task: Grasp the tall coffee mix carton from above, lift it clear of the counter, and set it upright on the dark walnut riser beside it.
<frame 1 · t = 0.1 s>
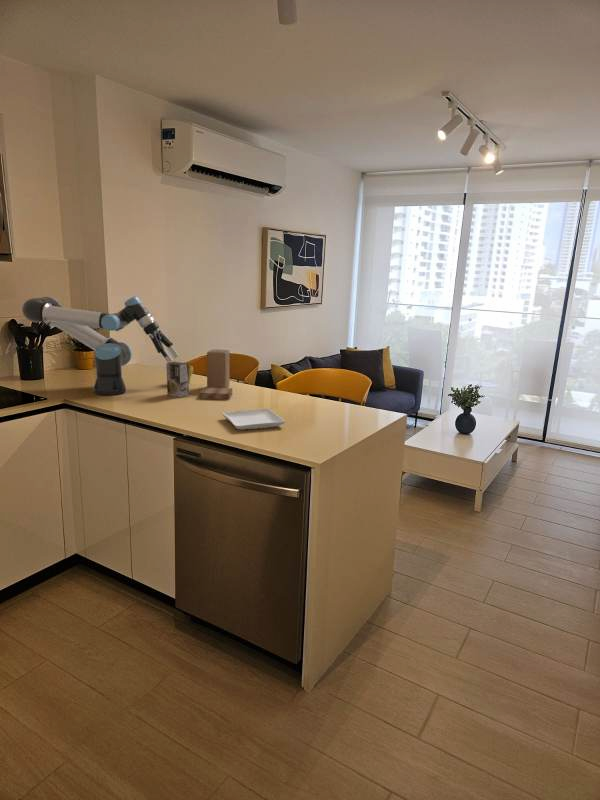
hand: (173, 359, 276), 15 cm above the worktop, tool tilted 35°, fingers open, 13 cm apart
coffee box: (178, 395, 266), on the worktop
salad plate: (252, 424, 222), on the worktop
walnut riser: (216, 396, 266), on the worktop
block: (218, 388, 284), on the worktop
plant pot: (183, 384, 291), on the worktop
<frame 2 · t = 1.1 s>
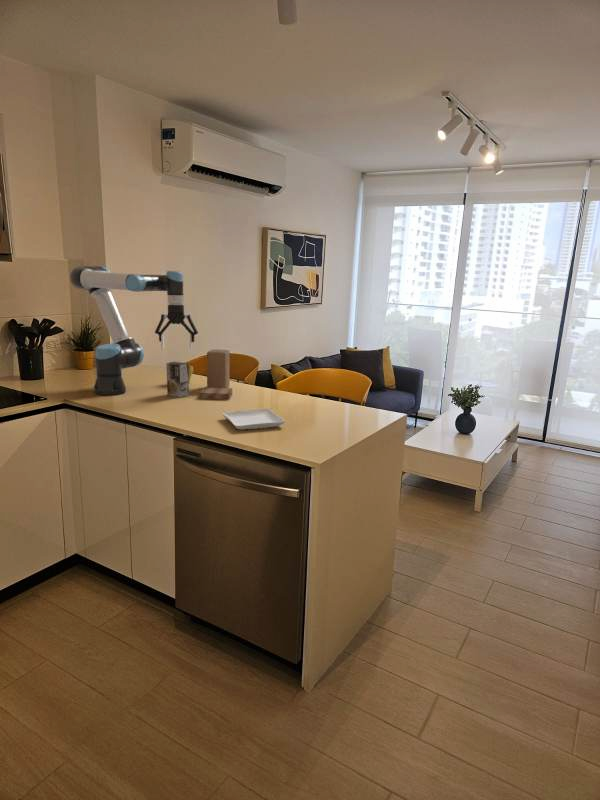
hand: (177, 348, 261), 23 cm above the worktop, tool pointing down, fingers open, 13 cm apart
nothing on the worktop moved.
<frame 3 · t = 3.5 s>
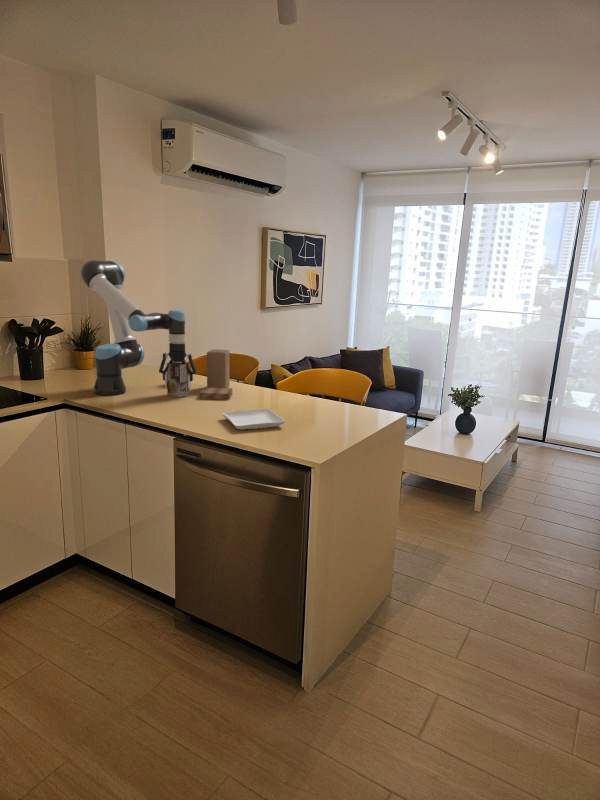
hand: (178, 387, 265), 4 cm above the worktop, tool pointing down, fingers closed on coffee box, 11 cm apart
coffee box: (178, 395, 266), on the worktop, touching gripper
everything else where it was.
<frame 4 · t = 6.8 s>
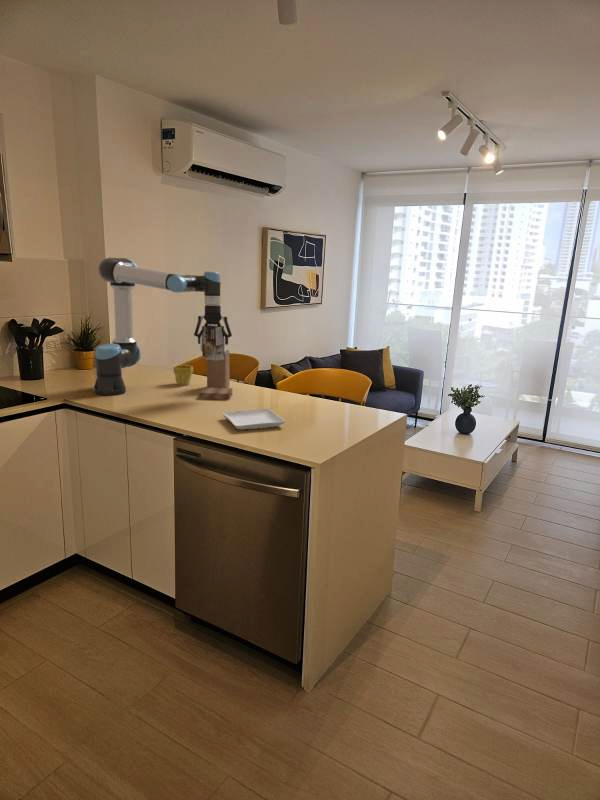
hand: (213, 351, 260), 23 cm above the worktop, tool pointing down, fingers closed on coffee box, 10 cm apart
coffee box: (213, 359, 261), point 18 cm above the worktop, touching gripper
everything else where it was.
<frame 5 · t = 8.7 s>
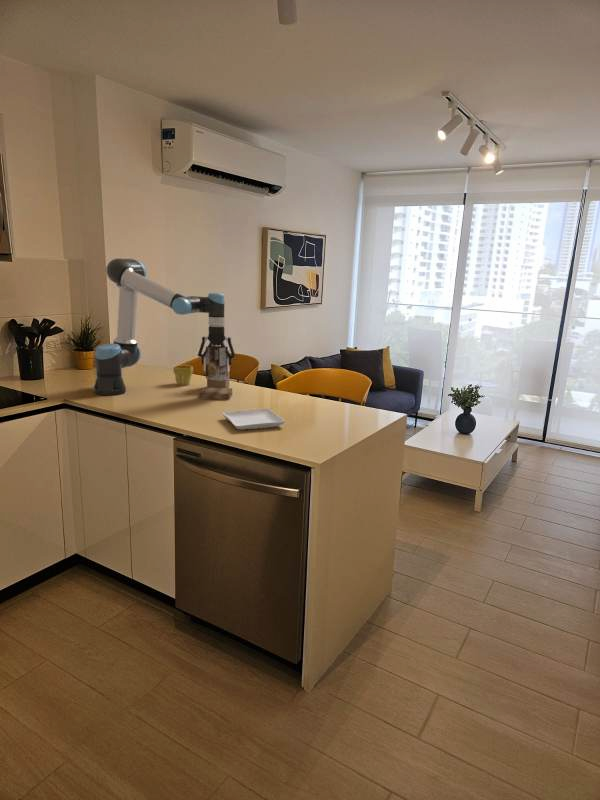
hand: (216, 371, 263), 13 cm above the worktop, tool pointing down, fingers closed on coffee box, 10 cm apart
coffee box: (216, 379, 264), point 9 cm above the worktop, touching gripper
everything else where it was.
when the fingers open (8 cm above the worktop, at t = 10.2 s): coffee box drops 1 cm, resting on walnut riser.
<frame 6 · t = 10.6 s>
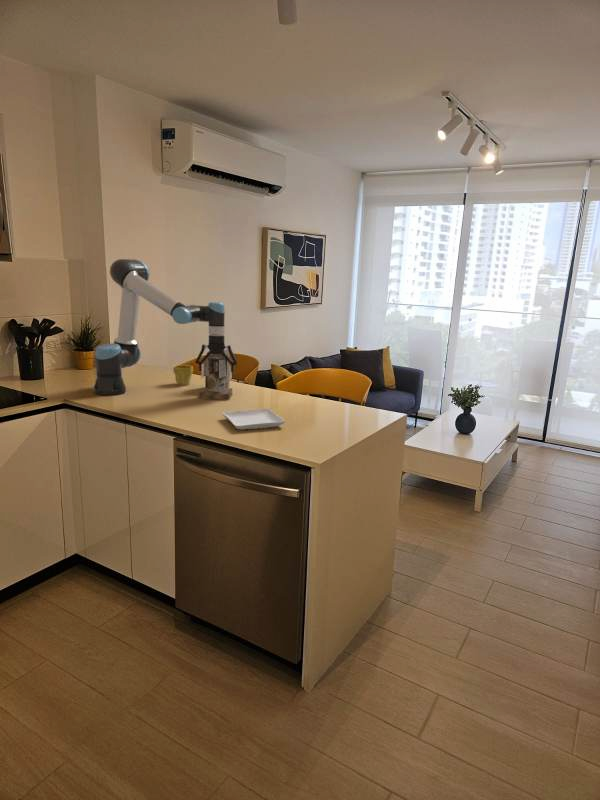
hand: (216, 378, 263), 9 cm above the worktop, tool pointing down, fingers open, 13 cm apart
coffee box: (216, 390, 265), point 3 cm above the worktop, touching walnut riser
everything else where it was.
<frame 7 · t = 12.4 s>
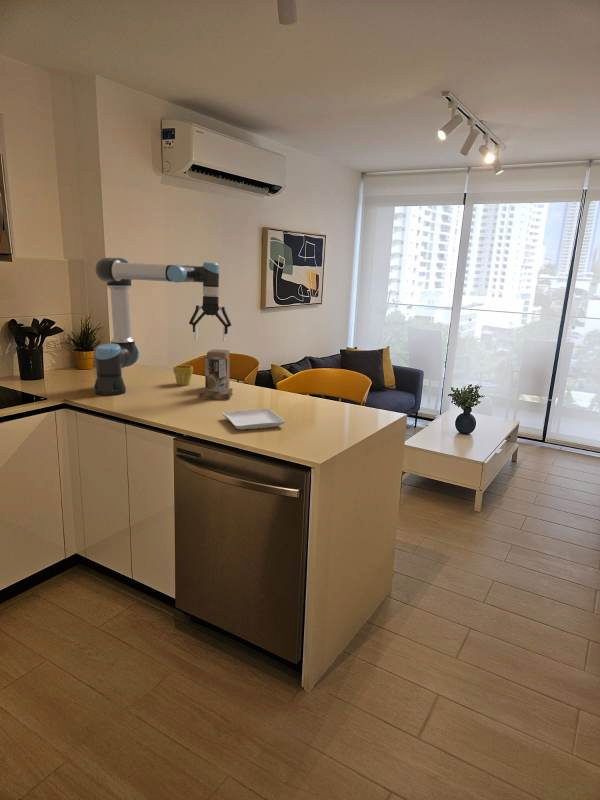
hand: (210, 340, 262), 27 cm above the worktop, tool pointing down, fingers open, 13 cm apart
nothing on the worktop moved.
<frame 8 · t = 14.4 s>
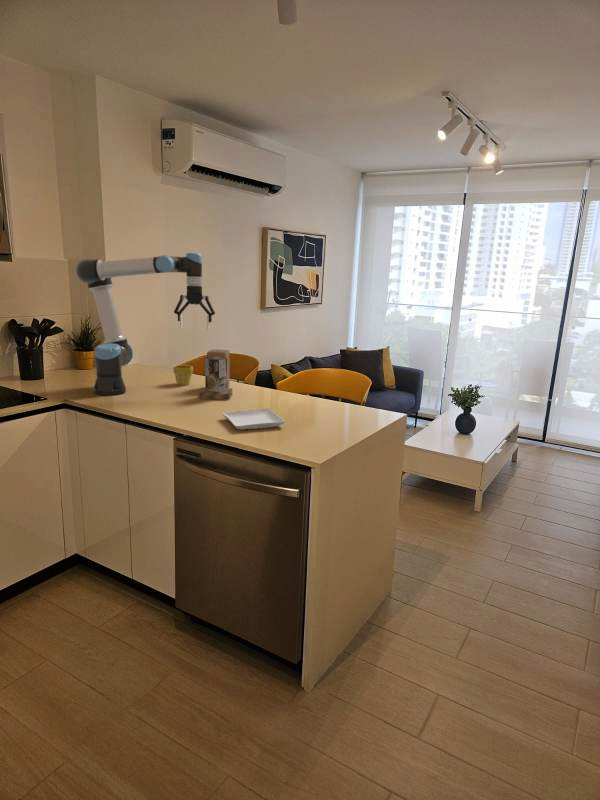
hand: (194, 328, 271), 32 cm above the worktop, tool pointing down, fingers open, 13 cm apart
nothing on the worktop moved.
at the end: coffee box inside the target area on the walnut riser (0.2 cm from its centre), point 2.8 cm above the walnut riser's base; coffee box tilted 0°; the gripper is holding nothing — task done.
